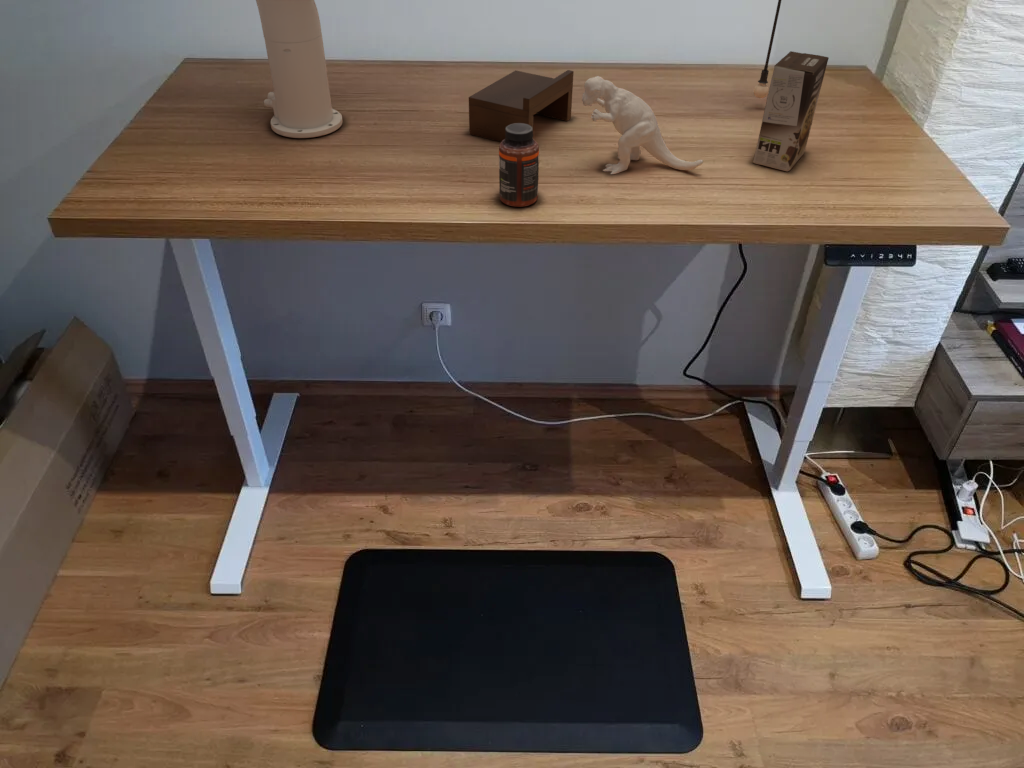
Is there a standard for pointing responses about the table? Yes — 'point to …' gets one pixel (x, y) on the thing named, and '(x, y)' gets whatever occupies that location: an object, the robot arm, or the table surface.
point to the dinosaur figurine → (630, 125)
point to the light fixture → (762, 88)
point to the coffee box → (790, 110)
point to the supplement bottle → (518, 166)
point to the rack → (519, 102)
